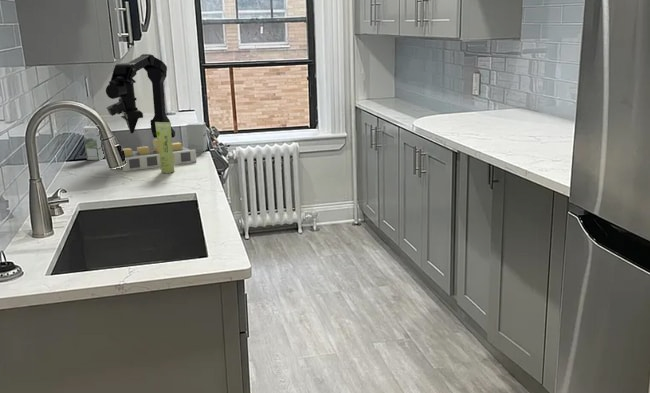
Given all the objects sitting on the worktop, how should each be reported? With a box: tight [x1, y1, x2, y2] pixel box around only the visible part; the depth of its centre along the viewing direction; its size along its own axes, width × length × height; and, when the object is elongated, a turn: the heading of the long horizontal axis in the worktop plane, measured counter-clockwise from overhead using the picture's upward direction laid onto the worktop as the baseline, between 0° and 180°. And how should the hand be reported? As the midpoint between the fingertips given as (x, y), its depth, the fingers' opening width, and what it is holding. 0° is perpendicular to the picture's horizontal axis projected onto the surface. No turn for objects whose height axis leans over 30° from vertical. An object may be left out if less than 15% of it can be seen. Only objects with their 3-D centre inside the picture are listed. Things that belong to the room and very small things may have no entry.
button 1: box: [172, 142, 183, 151], centre depth 262 cm, size 4×4×6 cm
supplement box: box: [186, 121, 208, 153], centre depth 277 cm, size 7×7×13 cm
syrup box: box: [82, 125, 105, 161], centre depth 263 cm, size 6×6×14 cm
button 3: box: [136, 145, 150, 155], centre depth 255 cm, size 4×4×6 cm
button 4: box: [122, 147, 133, 157], centre depth 252 cm, size 4×4×6 cm
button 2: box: [152, 138, 159, 153], centre depth 258 cm, size 4×4×6 cm
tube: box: [155, 121, 175, 174], centre depth 236 cm, size 6×5×20 cm
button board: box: [120, 145, 190, 170], centre depth 257 cm, size 14×30×4 cm, turn 122°
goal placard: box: [122, 150, 197, 172], centre depth 248 cm, size 1×30×5 cm, turn 121°
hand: (131, 133), depth 254 cm, fingers closed
